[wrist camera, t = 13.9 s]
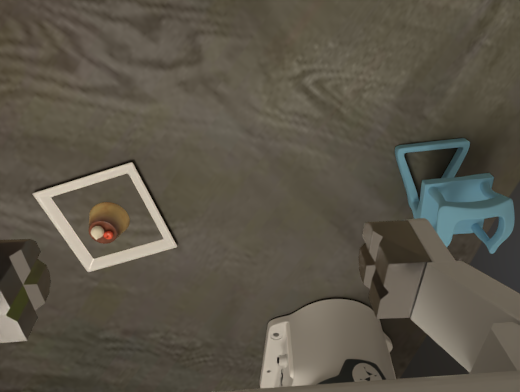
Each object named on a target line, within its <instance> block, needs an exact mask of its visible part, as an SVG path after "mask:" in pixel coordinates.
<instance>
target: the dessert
mask: <svg viewBox="0 0 520 392" xmlns="http://www.w3.org/2000/svg"><path fill="white" fill-rule="evenodd" d="M126 173H128V174H129V175H130V177H131V179H132V181H133V183H134V185H135V186H136V188H137V190H138V192H139V194H140V196H141V197H142V199H143V201H144V203H145V205H146V207H147V208H148V210H149V212H150V214H151V216H152V218H153V219H154V221H155V223H156V225H157V227H158V229H159V230H160V232H161V234H162V236H163V238H164V239H163V240H159V241H156V242H152V243H149V244H145V245H142V246H138V247H135V248H131V249H128V250H124V251H121V252H117V253H114V254H110V255H107V256H103V257H99V258H96V259H93V258H92V256H91V255H90V253H89V252H88V251H87V249H86V248H85V246H84V245H83V243H82V242H81V240H80V239H79V238H78V236H77V235H76V233H75V232H74V230H73V229H72V227H71V226H70V225H69V223H68V222H67V220H66V219H65V217H64V216H63V214H62V213H61V211H60V210H59V209H58V207H57V206H56V204H55V203H54V201H53V200H52V198H51V197H53V196H56V195H59V194H62V193H66V192H69V191H72V190H75V189H78V188H82V187H85V186H88V185H91V184H94V183H97V182H101V181H104V180H107V179H110V178H113V177H117V176H120V175H123V174H126ZM33 196H34V197H35V199H36V200H37V201H38V203H39V204H40V206H41V207H42V208H43V210H44V211H45V213H46V214H47V215H48V217H49V218H50V220H51V221H52V223H53V224H54V225H55V227H56V228H57V230H58V231H59V232H60V234H61V235H62V237H63V238H64V239H65V241H66V242H67V244H68V245H69V247H70V248H71V249H72V251H73V252H74V254H75V255H76V256H77V258H78V259H79V261H80V262H81V263H82V265H83V266H84V268H85V269H86V270H87V272H91V271H95V270H98V269H102V268H106V267H109V266H113V265H116V264H120V263H123V262H127V261H130V260H134V259H137V258H141V257H144V256H148V255H151V254H155V253H159V252H162V251H166V250H169V249H173V248H176V247H177V245H176V243H175V241H174V239H173V237H172V235H171V233H170V232H169V230H168V228H167V226H166V224H165V222H164V220H163V218H162V217H161V215H160V213H159V211H158V209H157V207H156V205H155V203H154V202H153V200H152V198H151V196H150V194H149V192H148V190H147V188H146V187H145V185H144V183H143V181H142V179H141V177H140V175H139V173H138V172H137V170H136V168H135V166H134V164H133V163H132V162H130V163H127V164H124V165H121V166H118V167H114V168H111V169H108V170H105V171H102V172H99V173H95V174H92V175H89V176H86V177H83V178H80V179H76V180H73V181H70V182H67V183H64V184H60V185H57V186H54V187H51V188H48V189H45V190H41V191H38V192H35V193H33ZM129 222H130V220H129V216H128V214H127V212H126V211H125V210H124V209H123V208H122V207H120V206H119V205H117V204H114V203H108V202H104V203H99V204H97V205H95V206H94V207H93V208H92V209H91V211H90V219H89V234H90V236H91V237H92V238H93V239H94V240H95V241H97V242H99V243H111V242H113V241H114V240H115V239H116V238H117V237H119V236H120V235H121V234H122V233H123V232H124V231H125V230H126V229H127V228H128V226H129Z"/></svg>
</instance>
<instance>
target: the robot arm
mask: <svg viewBox="0 0 520 392" xmlns="http://www.w3.org/2000/svg"><path fill="white" fill-rule="evenodd" d="M362 236H363V238H364V241H365V244H364V245H363V246H362V247H361V248H360V251H359V271H360V275H361V279H362V281H363V284H364V285H365V286H367V287H368V288H369V289H370V292H369V297H368V298H369V301H370V303H371V306H372V308H373V310H372V309H371V308H369V307H368V306H366V305H364V304H362V303H359V302H356V301H352V300H347V299H329V300H323V301H318V302H315V303H312V304H309V305H307V306H305V307H303V308H301V309H300V310H298V311H296V312H295V313H293V314H291V315H288V316H283V317H279V318H276V319H273V320H271V321H270V322H269V323H268V327H267V334H266V341H265V348H264V354H263V361H262V368H261V375H260V389H246V390H232V391H217V392H520V294H519V293H518V292H516V291H514V290H512V289H511V288H509V287H507V286H505V285H503V284H502V283H500V282H498V281H496V280H495V279H493V278H491V277H489V276H487V275H486V274H484V273H482V272H480V271H479V270H477V269H475V268H473V267H472V266H470V265H468V264H466V263H465V262H463V261H455V259H454V258H453V256H452V255H451V253H450V252H449V250H448V249H447V247H446V246H445V244H444V243H443V241H442V240H441V238H440V237H439V236H438V234H437V233H436V231H435V230H434V228H433V227H432V225H431V224H430V222H429V221H428V220H427V219H425V218H418V219H405V220H397V221H379V222H366V223H365V225H364V227H363V232H362ZM40 252H41V251H40V249H39V247H38V244H37V242H36V241H34V240H31V239H19V240H0V343H5V342H16V341H27V340H28V337H29V335H30V333H31V331H32V329H33V327H34V325H35V323H36V321H37V319H38V316H37V314H36V312H35V310H36V309H37V308H39V307H40V306H41V305H43V304H44V303H45V302H46V299H47V297H48V295H49V292H50V284H51V279H50V272H49V270H48V267H47V265H46V264H44V263H43V262H41V261H40V260H39V259H37V258H38V256H39V254H40ZM385 318H411V320H412V321H413V322H414V323H415V324H416V325H418V326H419V327H420V328H421V329H422V330H423V331H424V332H425V333H426V334H428V335H429V336H430V337H431V338H432V339H433V340H434V341H435V342H436V343H438V344H439V345H440V346H441V347H442V348H443V349H444V350H445V351H446V352H447V353H449V354H450V355H451V356H452V357H453V358H454V359H455V360H457V362H459V363H460V364H461V365H462V366H463V367H464V368H465V369H466V370H467V371H468V372H470V374H462V375H447V376H434V377H419V378H404V379H396V377H395V373H394V369H393V365H392V361H391V357H390V352H391V350H392V349H393V346H392V342H391V339H390V338H389V337H388V336H387V335H386V334H385V333H384V332H383V330H382V326H381V322H380V319H385Z"/></svg>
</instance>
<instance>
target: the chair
mask: <svg viewBox="0 0 520 392" xmlns="http://www.w3.org/2000/svg"><path fill="white" fill-rule="evenodd" d="M469 147H470V142H469V141H468V140H466V139H465V138H459V139H450V140H441V141H432V142H423V143H414V144H405V145H398V146H396V147H395V156H396V160H397V164H398V167H399V170H400V173H401V176H402V180H403V183H404V186H405V189H406V193H407V197H408V203H409V206H410V208H411V209H412V212H413V216H414V219H418V218H425V219H427V220H428V221H429V222H430V224H431V225H432V227H433V228H434V230H435V231H436V233H437V234H438V236H439V237H440V238H441V240H442V241H443V243H444V244H445V246H446V247H448V245H449V244H450V242H451V240H452V236H453V234H466V233H475V234H476V235H477V237H478V238H479V239H480V240H482V241H483V242H484V243H485V244H486V246H487V248H488V250H489V252H490V253H491V254H493V253H495V251H496V250H497V248H498V246H499V245H500V244H501V243H502V242H503V241H504V240H506V239H507V238H508V237H509V236H510V234H511V233H512V231H513V227H514V219H515V217H514V206H513V201H512V199H510V198H508V197H506V196H504V195H501V194H498V193H496V192H494V191H493V190H492V189H491V188H492V184H493V180H494V177H493V176H492V175H491V174H490V173H484V174H475V175H469V176H464V177H455V175H456V173H457V171H458V169H459V167H460V166H461V164H462V162H463V160H464V158H465V156H466V154H467V152H468V149H469ZM448 148H458V149H457V151H456V153H455V155H454V156H453V158H452V160H451V162H450V163H449V165H448V167H447V169H446V170H445V172H444V174H443V176H442V177H441V178H440V179H428V180H422V184H421V193H420V201H419V198H418V194H417V191H416V188H415V185H414V182H413V179H412V177H411V174H410V171H409V168H408V166H407V163H406V160H405V157H404V154H405V153H408V152H418V151H428V150H438V149H448ZM454 177H455V178H454ZM489 198H490V199H489ZM497 216H499V224H498V228H497V231H496V233H495V234H494V236H493V237H492V238H491V239H490V238H489V237H488V236H487V234H486V233H485V232H484V230H483V229H482V228H483V223H484V219H486V218H491V217H497Z"/></svg>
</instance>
